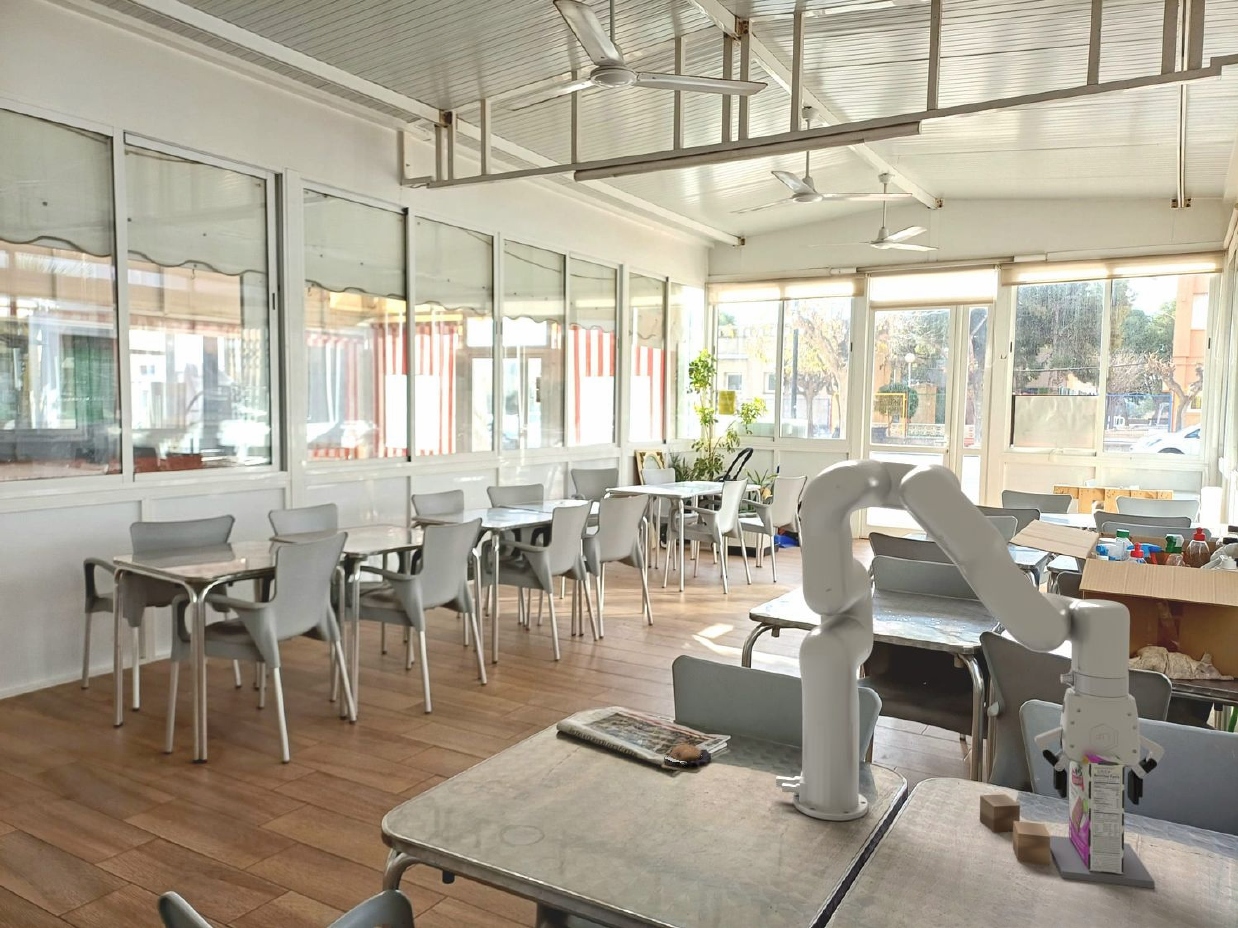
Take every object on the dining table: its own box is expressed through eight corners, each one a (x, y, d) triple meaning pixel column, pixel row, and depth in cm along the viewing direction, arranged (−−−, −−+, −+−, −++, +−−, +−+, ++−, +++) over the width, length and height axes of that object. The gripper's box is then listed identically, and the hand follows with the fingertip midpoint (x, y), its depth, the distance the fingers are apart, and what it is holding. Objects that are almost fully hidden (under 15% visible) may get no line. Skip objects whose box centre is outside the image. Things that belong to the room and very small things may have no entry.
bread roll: (698, 777, 168) (698, 758, 168) (657, 769, 172) (657, 751, 172) (717, 758, 178) (717, 740, 178) (678, 751, 182) (678, 733, 182)
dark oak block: (993, 833, 144) (994, 806, 143) (979, 821, 148) (980, 795, 148) (1019, 831, 144) (1019, 805, 144) (1004, 820, 148) (1005, 794, 148)
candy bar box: (1066, 838, 139) (1067, 734, 139) (1101, 841, 138) (1103, 736, 138) (1086, 872, 128) (1088, 760, 128) (1125, 876, 127) (1127, 762, 127)
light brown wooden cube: (1017, 861, 134) (1018, 833, 134) (1013, 848, 138) (1013, 820, 138) (1049, 865, 133) (1050, 836, 133) (1043, 852, 137) (1044, 823, 137)
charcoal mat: (1061, 877, 129) (1061, 870, 129) (1044, 840, 141) (1044, 834, 141) (1154, 888, 126) (1154, 881, 126) (1128, 849, 138) (1129, 843, 138)
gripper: (1041, 686, 131) (1039, 801, 132) (1173, 695, 127) (1170, 814, 127) (1031, 673, 138) (1029, 782, 139) (1156, 681, 134) (1153, 793, 134)
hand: (1097, 797), depth 133 cm, fingers open, 9 cm apart
